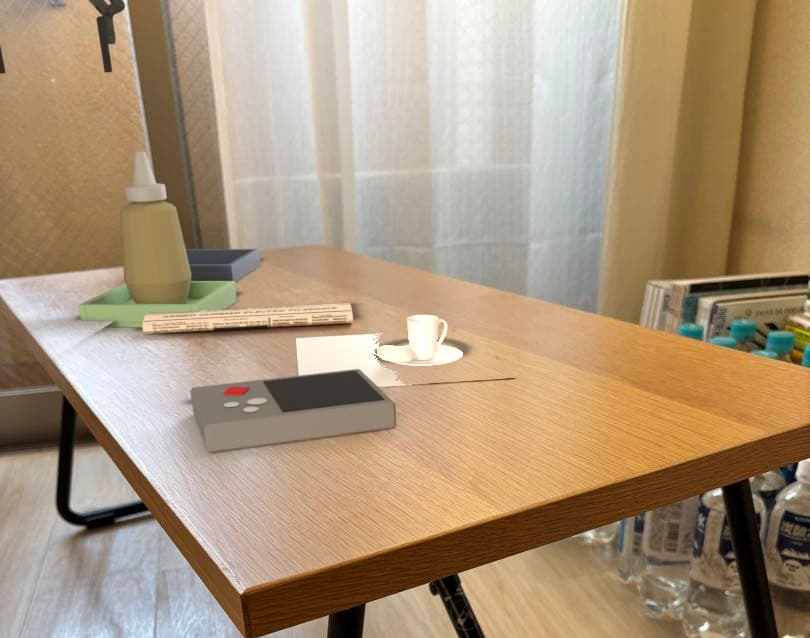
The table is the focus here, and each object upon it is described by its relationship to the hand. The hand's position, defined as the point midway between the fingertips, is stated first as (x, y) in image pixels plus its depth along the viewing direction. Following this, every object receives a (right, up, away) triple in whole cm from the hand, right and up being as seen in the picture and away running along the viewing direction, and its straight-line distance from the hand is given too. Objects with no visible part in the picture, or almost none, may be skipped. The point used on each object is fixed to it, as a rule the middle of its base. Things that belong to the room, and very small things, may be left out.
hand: (56, 72), depth 121 cm
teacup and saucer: (+46, -45, -30) cm, 71 cm away
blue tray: (+16, -23, +14) cm, 32 cm away
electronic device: (+38, -54, -47) cm, 81 cm away
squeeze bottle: (+17, -35, -9) cm, 40 cm away
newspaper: (+29, -38, -16) cm, 50 cm away
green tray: (+17, -35, -9) cm, 40 cm away
